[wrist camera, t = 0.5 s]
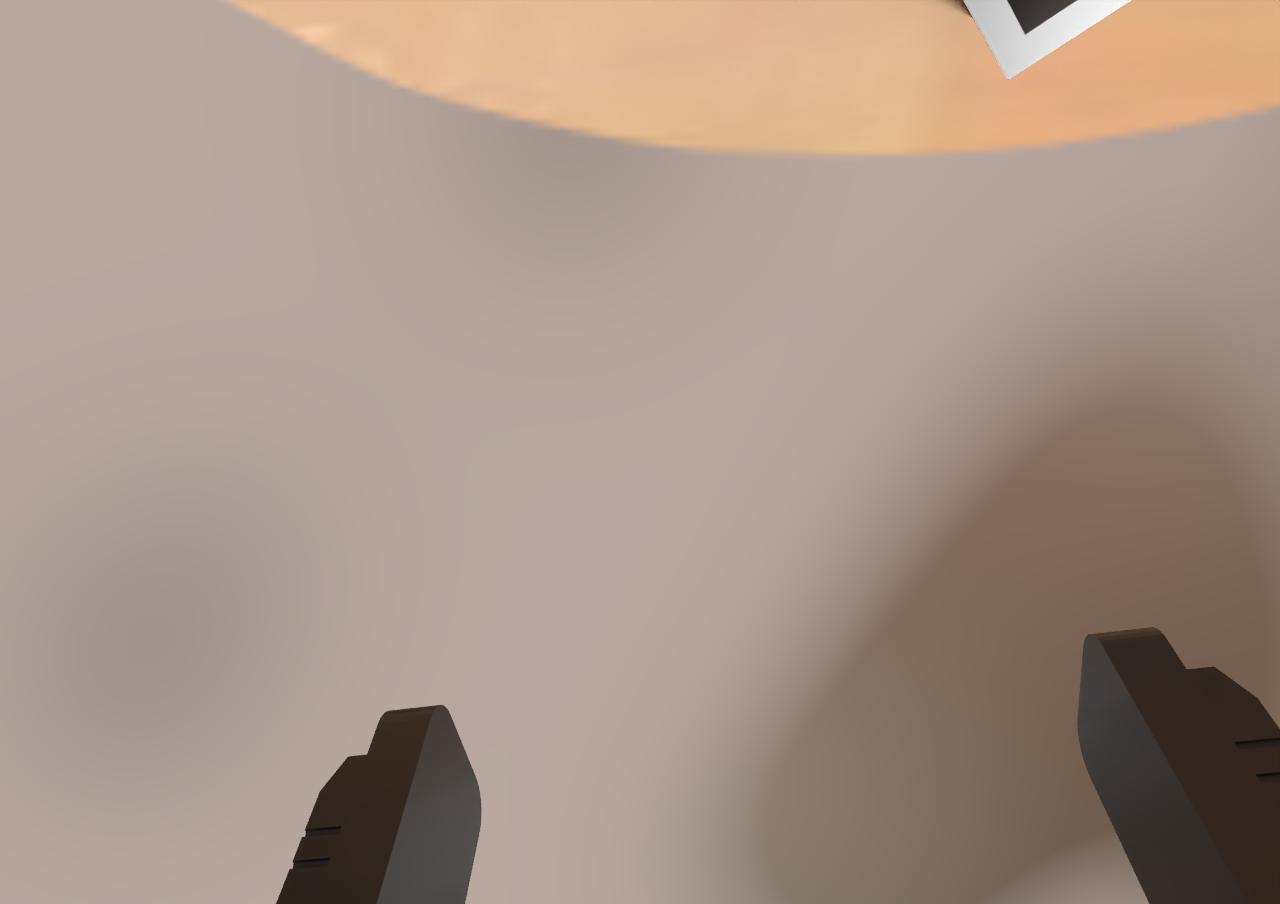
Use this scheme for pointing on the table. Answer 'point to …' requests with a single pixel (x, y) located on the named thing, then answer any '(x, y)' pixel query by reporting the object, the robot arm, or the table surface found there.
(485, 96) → the table surface
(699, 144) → the table surface
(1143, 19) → the table surface
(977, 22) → the socket box
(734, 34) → the table surface
